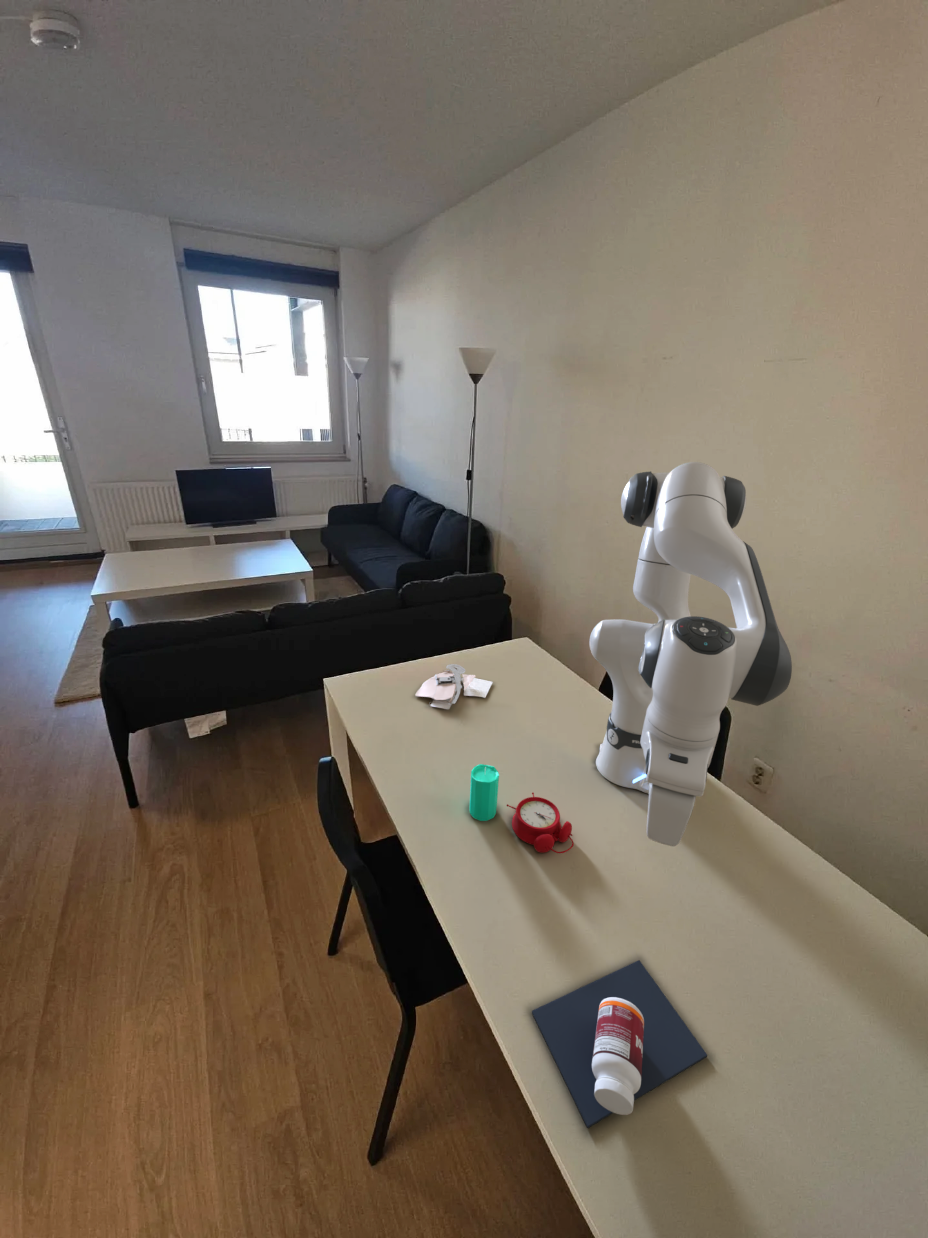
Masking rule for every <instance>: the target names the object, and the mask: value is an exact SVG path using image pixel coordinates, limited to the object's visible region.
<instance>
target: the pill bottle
mask: <svg viewBox="0 0 928 1238" xmlns="http://www.w3.org/2000/svg"><path fill="white" fill-rule="evenodd" d="M643 1035H644V1018H643V1015H642V1013H641V1012H640V1010H639V1009H638V1008H637V1007H636V1006H635V1005H633V1004H632V1003H631V1002H629V1001H627V1000H624V999H621V998H616V997H609V998H606V999H604V1000H602V1002H601V1003H600V1006H599V1012H598V1020H597V1027H596V1035H595V1044H594V1051H593V1059H592V1071H593V1074H594V1076H595V1078H596V1079H597V1080H596V1082H595V1091H594V1095H595V1098H596V1100H597V1101H598V1103H599V1104H600V1105H602V1106H603V1107H604V1108H606V1109H607V1110H609V1111H611V1112H614V1113H613V1114H616V1115H622V1116H628V1115H630V1114H632V1113H633V1111H634V1102H635V1100H634V1095H633V1094H635V1093H636V1092H637V1091H638V1090H639V1089H640V1086H641V1075H642V1053H643Z"/></svg>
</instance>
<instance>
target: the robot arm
mask: <svg viewBox="0 0 928 1238" xmlns="http://www.w3.org/2000/svg"><path fill="white" fill-rule="evenodd" d="M746 493H747V492H746V487H745V485H744V483H743V481H742V480H739V479H737V478H735V477H731V476H728V475H722V476H720V474H719V473H718V471H717V470H716V469H715V468H714V467H713V466H711V465H710V464H707V463H705V462H700V461H689V462H685V463H682V464H679V465H677V466H676V467H674V468H673V469H671V470H670V471H668V472H667V471H666V472H652V471H651V470H650V471H643V472H637V473H635V474H633V475H632V476H631V477H630V478H629V479H628V482H627V483H626V484H625V486H624V487H623V490H622V493H621V497H620V507H621V512H622V514H623V519H624V520H625V521H626V523H628V524H630V525H632V526H635V527H639V528H642V527H645V530H644V533H643V537H642V540H641V543H640V548H639V552H638V557H637V563H636V568H635V573H634V580H633V586H632V592H633V596H634V598H635V600H637V602H639V603H640V604H641V605H642V606H644V607H645V608H647V609H648V610H650V611H652V612H653V614H655V615H656V616H657V619H658V621H657V622H656V623H649V622H643V621H637V620H630V619H622V618H621V619H619V618H618V619H617V618H616V619H603V620H601V621H599V622H598V623H597V624H595V626H594V627H593V629H592V631H591V633H590V636H589V640H588V641H589V642H588V644H589V645H588V646H589V650H590V653H591V655H592V657H593V658H594V659H595V661H596V662H598V664H600V665H601V667H603V668H604V669H605V671H606V673H607V674H608V676H609V678H610V680H611V683H612V690H613V695H612V696H613V697H612V706H611V711H610V713H609V715H608V718H607V723H606V731H605V735H604V736H603V737H604V738H603V742H602V743H600V745H599V752H598V755H597V757H596V759H595V767H596V769H597V770H598V771H597V772H599V774H600V775H601V776H602V777H603V778H605V779H606V780H608V781H609V782H611V783H613V784H615V785H617V786H620V787H623V788H628V789H632V790H633V789H634V790H637V791H640V792H643V793H644V794H648V801H647V802H648V803H647V817H646V837H647V838H648V839H649V840H650V841H652V842H655V843H659V844H661V845H665V846H668V847H676V846H678V845H679V844H681V843H680V842H681V841H682V839H683V837H684V834H685V831H686V829H687V826H688V824H689V820H690V819H691V816H692V813H693V809H694V806H695V803H696V800H697V799H696V798H697V797H700V798H701V797H703V796H704V793H705V789H706V784H707V780H708V779H707V777H708V770H709V769H708V768H709V767H710V765H711V763H712V760H713V759H712V758H713V755H714V751H715V747H716V746H717V745H716V744H717V741H718V738H719V733H720V730H721V721H720V718H721V714H722V711H723V710H724V709H725V708H726V707H727V704H728V701H729V699H730V700H732V701H736V702H740V703H744V704H747V705H752V706H756V707H758V706H761V705H763V704H766V703H769V702H771V701H773V700H774V699H776V698H778V697H779V696H780V695H782V694H784V692H786V691H787V689H788V687H789V685H790V683H791V679H792V674H793V673H792V672H793V661H792V656H791V652H790V648H789V647H788V644H787V643H786V640H785V639H784V636H783V635H782V633H781V631H780V628H779V626H778V623H777V621H776V617H775V614H774V610H773V607H772V604H771V600H770V596H769V593H768V589H767V586H766V583H765V580H764V576H763V573H762V570H761V566H760V564H759V560H758V558H757V556H756V553H755V550H754V548H753V547H752V546H751V545H749V544H748V543H747V542H745V541H743V540H742V539H741V538H740V537H739V536H738V534H737V533H736V532H735V531H734V529H735V528H736V527H737V526H738V524H739V523H740V521H741V519H742V517H743V516H744V513H745V511H746V507H747V494H746ZM692 576H694V577H697V578H700V579H703V580H705V581H706V582H709V583H711V584H713V585H715V586H716V587H718V588H720V589H721V590H722V591H723V592H724V593H725V594H726V595H727V596H728V598H729V601H730V605H731V608H732V614H733V618H734V621H735V626H736V627H730V626H726V625H725V624H724V623H722V622H720V621H718V620H716V619H713V618H709V617H705V616H698V615H697V616H693V615H691V611H690V605H689V593H690V592H689V591H690V584H691V583H690V582H691V577H692Z"/></svg>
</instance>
